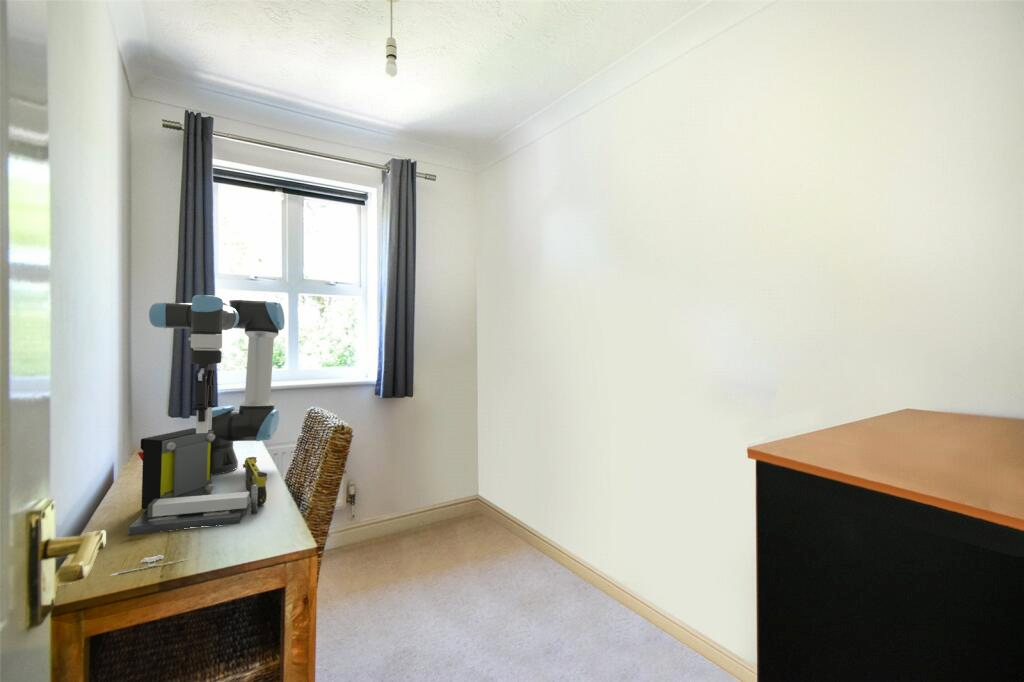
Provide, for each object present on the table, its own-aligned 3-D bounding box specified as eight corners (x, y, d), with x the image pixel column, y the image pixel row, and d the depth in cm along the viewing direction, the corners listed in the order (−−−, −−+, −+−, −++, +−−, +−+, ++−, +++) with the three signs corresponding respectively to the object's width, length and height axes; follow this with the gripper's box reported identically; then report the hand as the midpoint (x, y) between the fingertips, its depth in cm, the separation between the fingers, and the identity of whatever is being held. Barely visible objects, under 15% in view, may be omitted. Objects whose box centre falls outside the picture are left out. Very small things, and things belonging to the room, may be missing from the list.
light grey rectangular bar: (249, 502, 134) (249, 491, 134) (246, 508, 130) (246, 496, 130) (154, 510, 126) (154, 498, 126) (147, 517, 121) (147, 505, 121)
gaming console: (241, 486, 156) (242, 456, 156) (255, 484, 159) (256, 455, 159) (251, 510, 136) (252, 475, 136) (267, 507, 138) (268, 473, 138)
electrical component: (165, 511, 132) (167, 440, 132) (135, 508, 134) (137, 438, 134) (216, 492, 149) (218, 429, 150) (189, 489, 152) (191, 427, 152)
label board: (148, 515, 129) (149, 486, 129) (260, 505, 139) (260, 478, 139) (128, 535, 116) (129, 502, 116) (253, 522, 126) (254, 492, 126)
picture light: (108, 578, 96) (108, 568, 96) (111, 570, 100) (111, 560, 100) (190, 561, 104) (191, 552, 104) (190, 554, 108) (191, 545, 108)
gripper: (198, 348, 140) (195, 426, 140) (182, 350, 125) (179, 437, 125) (227, 349, 143) (224, 425, 143) (215, 350, 128) (212, 436, 128)
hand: (203, 431), depth 134 cm, fingers open, 4 cm apart
